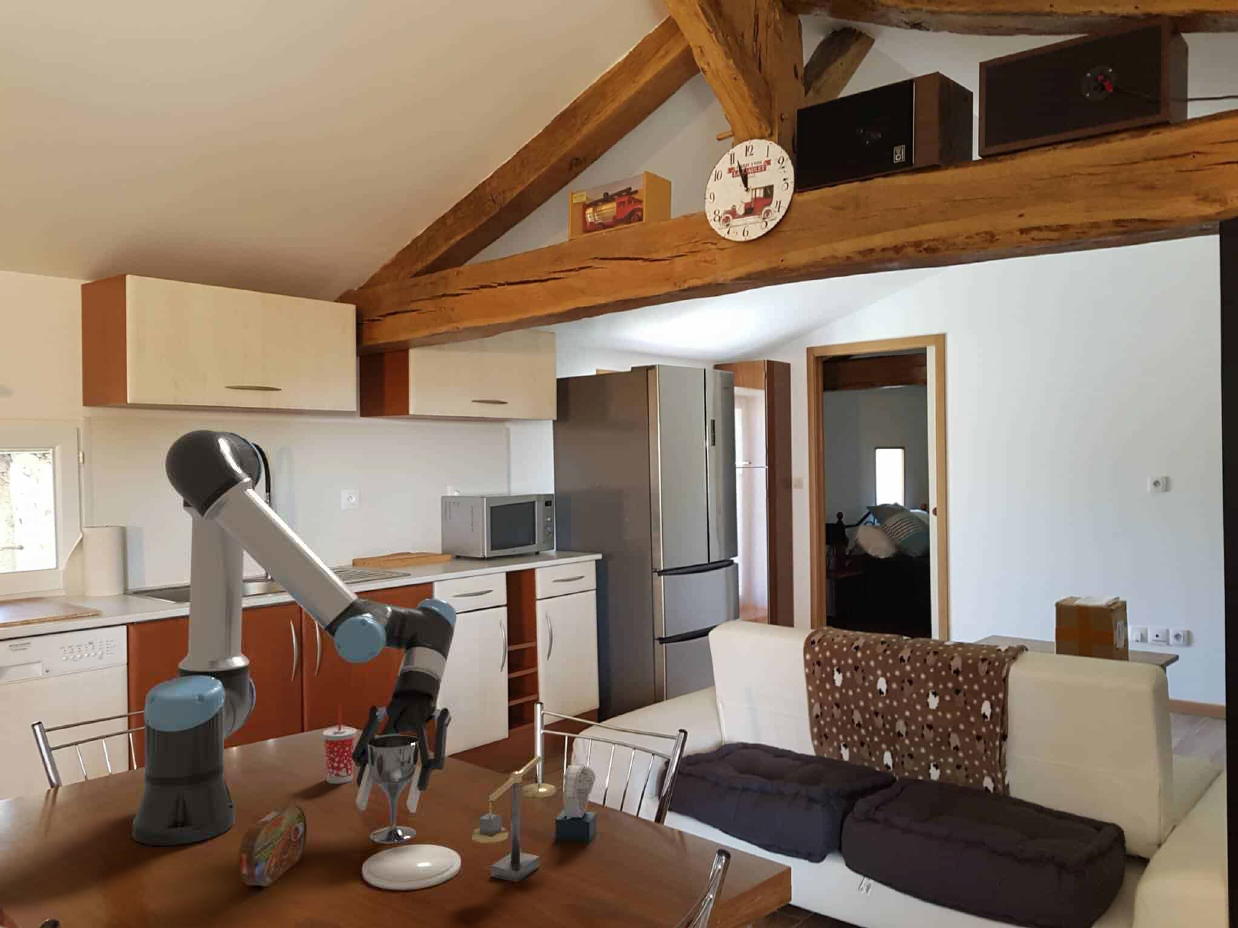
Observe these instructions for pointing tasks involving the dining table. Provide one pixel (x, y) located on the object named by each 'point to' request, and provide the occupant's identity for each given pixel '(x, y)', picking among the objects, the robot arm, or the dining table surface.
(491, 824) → the balance
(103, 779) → the dining table surface
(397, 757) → the wine glass
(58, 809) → the dining table surface
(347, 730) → the beverage cup
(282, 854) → the tin
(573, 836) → the watch
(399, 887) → the dish
